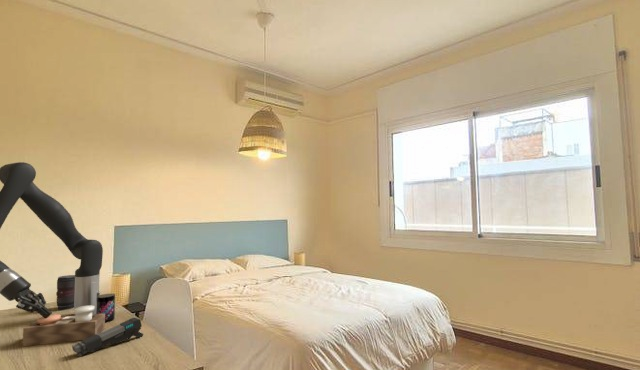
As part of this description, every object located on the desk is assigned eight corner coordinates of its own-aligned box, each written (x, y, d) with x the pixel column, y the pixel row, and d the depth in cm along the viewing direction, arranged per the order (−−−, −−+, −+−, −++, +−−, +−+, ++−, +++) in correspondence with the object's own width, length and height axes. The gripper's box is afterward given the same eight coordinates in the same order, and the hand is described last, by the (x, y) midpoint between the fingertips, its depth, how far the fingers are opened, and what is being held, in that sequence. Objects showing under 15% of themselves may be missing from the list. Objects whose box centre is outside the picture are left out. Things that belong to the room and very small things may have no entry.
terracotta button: (63, 332, 128) (64, 313, 128) (54, 339, 121) (55, 319, 122) (42, 334, 126) (43, 315, 126) (32, 341, 120) (33, 321, 120)
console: (104, 329, 133) (105, 312, 133) (95, 338, 123) (95, 320, 123) (38, 335, 127) (38, 318, 127) (22, 346, 117) (23, 326, 118)
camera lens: (69, 310, 160) (70, 277, 161) (51, 310, 160) (52, 278, 160) (81, 305, 168) (81, 274, 169) (64, 305, 168) (65, 274, 169)
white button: (96, 323, 131) (97, 304, 131) (90, 329, 124) (90, 309, 125) (77, 325, 129) (77, 306, 129) (69, 331, 123) (69, 311, 123)
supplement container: (91, 323, 140) (92, 297, 141) (103, 317, 147) (104, 293, 148) (107, 323, 139) (107, 297, 140) (118, 318, 146) (118, 293, 147)
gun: (146, 336, 124) (137, 312, 121) (87, 376, 108) (75, 349, 106) (141, 333, 126) (132, 310, 124) (82, 372, 111) (70, 345, 109)
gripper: (8, 279, 116) (48, 312, 119) (29, 273, 129) (66, 303, 131) (-12, 297, 114) (30, 330, 117) (12, 288, 127) (49, 318, 130)
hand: (49, 315), depth 124 cm, fingers closed
